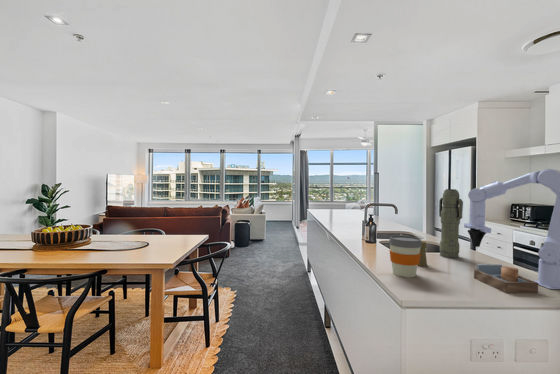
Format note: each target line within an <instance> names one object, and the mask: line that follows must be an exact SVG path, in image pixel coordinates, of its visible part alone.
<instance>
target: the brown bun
mask: <svg viewBox="0 0 560 374" xmlns="http://www.w3.org/2000/svg"><path fill="white" fill-rule="evenodd" d="M518 275H519V269H518V268H516V267H513V266H508V265H507V266H505V265H504V266H503V265H502V267H501V279H502V280H505V281H507V282H518Z"/></svg>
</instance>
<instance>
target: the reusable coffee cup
mask: <svg viewBox="0 0 560 374" xmlns="http://www.w3.org/2000/svg"><path fill="white" fill-rule="evenodd" d="M388 240H389V241H388V244H389V248H390V249H389V258H390V262H391V266H392V274H393V273H394V275H396V276H398V277H402V276H403V278H414V277H416V276H417V271H418V267H419V266H418V264H419V260H420V254H421V253H420V248H421V246H422V245H421V241H422V239H421V238H419V237H417V236H412V235H399V234H398V235H391V236H389V239H388Z"/></svg>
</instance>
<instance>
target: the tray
mask: <svg viewBox="0 0 560 374" xmlns="http://www.w3.org/2000/svg"><path fill="white" fill-rule="evenodd" d="M502 266H503V265H502V264H490V263H489V264H481V263H480V264H477V263H476V269H477V270H479V271H481V272H484V273H486V274H488V275H491V276H493V277H495V278H498V279H500V280H502V279H501V267H502ZM502 281H505V280H502ZM505 282H507V281H505ZM518 282H527V281H525V280H522V279H519V278H518Z"/></svg>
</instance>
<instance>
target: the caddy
mask: <svg viewBox="0 0 560 374" xmlns="http://www.w3.org/2000/svg"><path fill="white" fill-rule="evenodd" d="M518 278H519V279H522V280H525V281H527V282H505V281H502V280H500V279H498V278H495V277H493V276H491V275H488V274H486V273H484V272H481V271H479V270H477V268H476V269H475V268H474V269H473V279H476V280H477V281H480V282H482V283H484V284H486V285H488V286H491V287H492V288H494V289H497V290H498V291H501V292H503V293H504V294H505V293H507V294H508V293H509V294H510V293H511V294H513V293H514V294H517V293H521V294H523V293H528V294H531V293H532V294H535V293H536V294H537V293H539V284H538V283H537V282H535V281H536V280H531V279H530V278H526V277H523V276H521V275H519V274H518Z"/></svg>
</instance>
